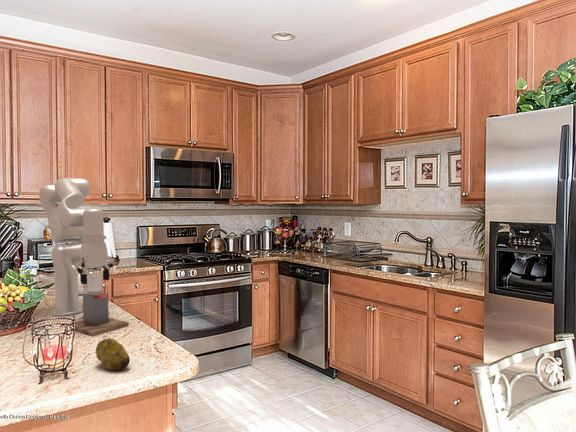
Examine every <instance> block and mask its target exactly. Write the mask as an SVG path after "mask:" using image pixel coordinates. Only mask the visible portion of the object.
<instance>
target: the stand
mask: <svg viewBox="0 0 576 432" xmlns="http://www.w3.org/2000/svg"><path fill="white" fill-rule="evenodd" d="M82 308H83V311H82V313H83V317H82V319H79V320H75V321H74V322H75V331H74V332H76V331H77V332H76V333H79V332H80V333H79V334H82V335H85V336H86V335H87V336H90V337H94V336H95V337H96V336H99V335H102V334H105V333H108V332H112V331H116V330H120V329H122V328H126V327H129V325H130V324H129V321H124V320H121V319H116V318H113V317H110V316H109V315H110V314H109V293H107V292H103V294H100V295H95V296H92V295H88V294H82Z"/></svg>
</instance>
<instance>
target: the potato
mask: <svg viewBox="0 0 576 432" xmlns="http://www.w3.org/2000/svg"><path fill="white" fill-rule="evenodd" d="M95 355H96V358H97V360H98V361H100V363H101V365H102V366H103V367H104V368H105V369H106V370H111V371H121V370H122V371H123V370H124V369H126V368H127V367H128V365H129V364H130V362H131V358H130V356H129V353H128V352H127V350H126V349H125V347H124V346H123V345H122V344H121V343H119V342H118V340H116V339H114V338H110V337H109V338H104V339H102V340H101V341H99V342H98V343H97V345H96V347H95Z"/></svg>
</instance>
